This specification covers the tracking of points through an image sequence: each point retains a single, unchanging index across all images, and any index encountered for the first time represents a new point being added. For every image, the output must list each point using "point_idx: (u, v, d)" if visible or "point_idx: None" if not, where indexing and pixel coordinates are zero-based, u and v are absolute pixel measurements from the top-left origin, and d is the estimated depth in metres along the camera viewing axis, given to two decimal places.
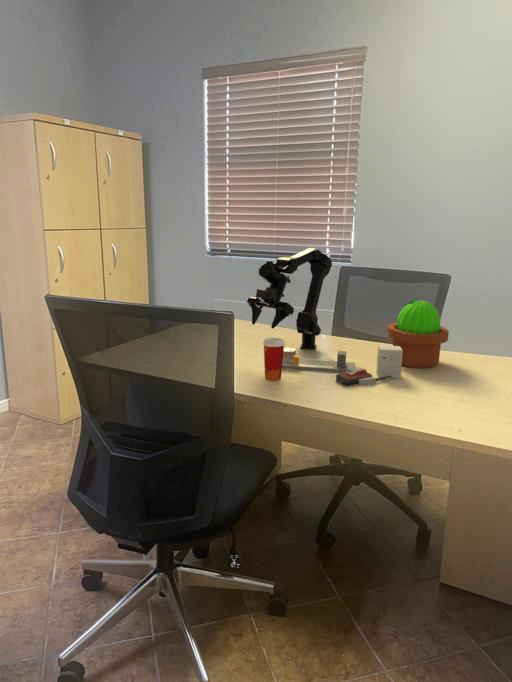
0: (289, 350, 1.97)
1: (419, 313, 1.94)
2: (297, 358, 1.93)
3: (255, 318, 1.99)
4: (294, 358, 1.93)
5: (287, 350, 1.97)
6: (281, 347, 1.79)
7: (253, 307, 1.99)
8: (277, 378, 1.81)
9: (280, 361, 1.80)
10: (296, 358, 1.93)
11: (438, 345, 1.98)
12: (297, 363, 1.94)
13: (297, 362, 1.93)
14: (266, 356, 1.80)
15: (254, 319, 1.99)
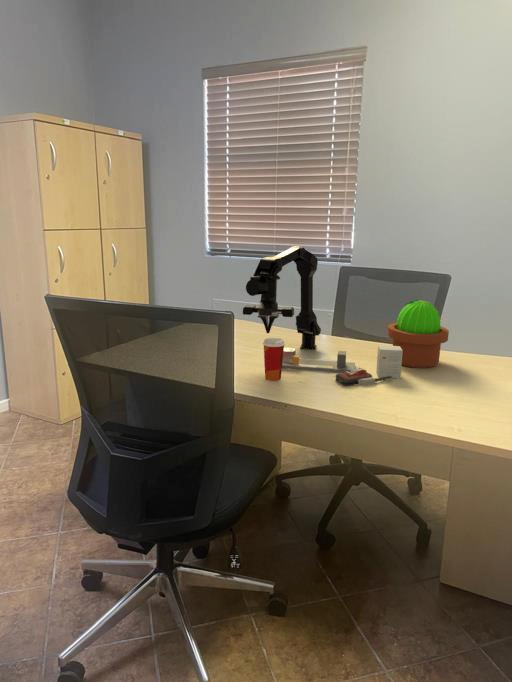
0: (289, 350, 1.97)
1: (419, 313, 1.94)
2: (297, 358, 1.93)
3: None
4: (294, 358, 1.93)
5: (287, 350, 1.97)
6: (281, 347, 1.79)
7: (264, 318, 1.95)
8: (277, 378, 1.81)
9: (280, 361, 1.80)
10: (296, 358, 1.93)
11: (438, 345, 1.98)
12: (297, 363, 1.94)
13: (297, 362, 1.93)
14: (266, 356, 1.80)
15: None
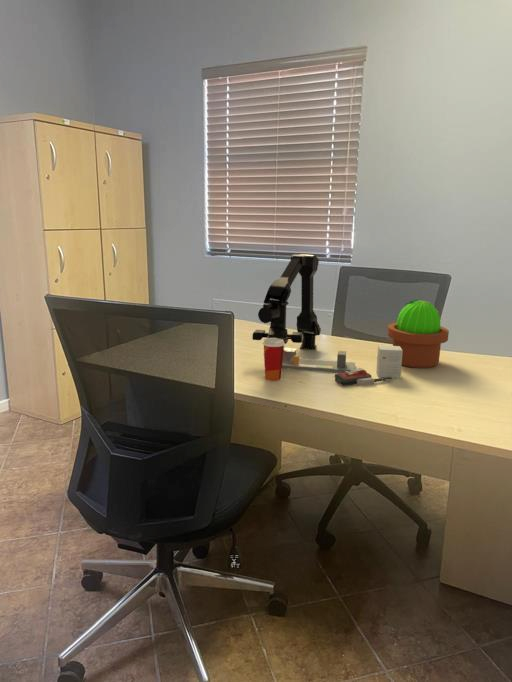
0: (290, 350, 1.97)
1: (419, 313, 1.94)
2: (297, 358, 1.93)
3: None
4: (294, 358, 1.93)
5: (288, 350, 1.97)
6: (281, 347, 1.79)
7: None
8: (277, 378, 1.81)
9: (280, 361, 1.80)
10: (296, 358, 1.93)
11: (438, 345, 1.98)
12: (297, 363, 1.94)
13: (297, 362, 1.93)
14: (266, 356, 1.80)
15: None
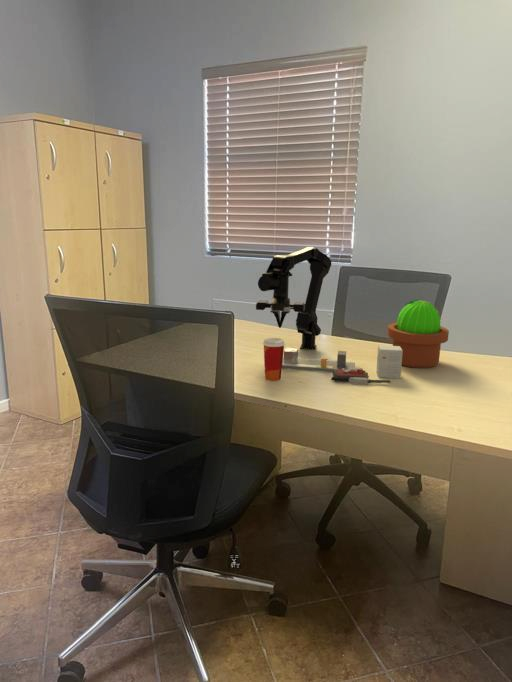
0: (291, 350, 1.97)
1: (419, 313, 1.94)
2: (325, 360, 1.91)
3: None
4: (322, 360, 1.91)
5: (289, 350, 1.97)
6: (281, 347, 1.79)
7: (276, 313, 2.03)
8: (277, 378, 1.81)
9: (280, 361, 1.80)
10: (324, 360, 1.91)
11: (438, 345, 1.98)
12: (325, 365, 1.92)
13: (325, 364, 1.91)
14: (266, 356, 1.80)
15: None
